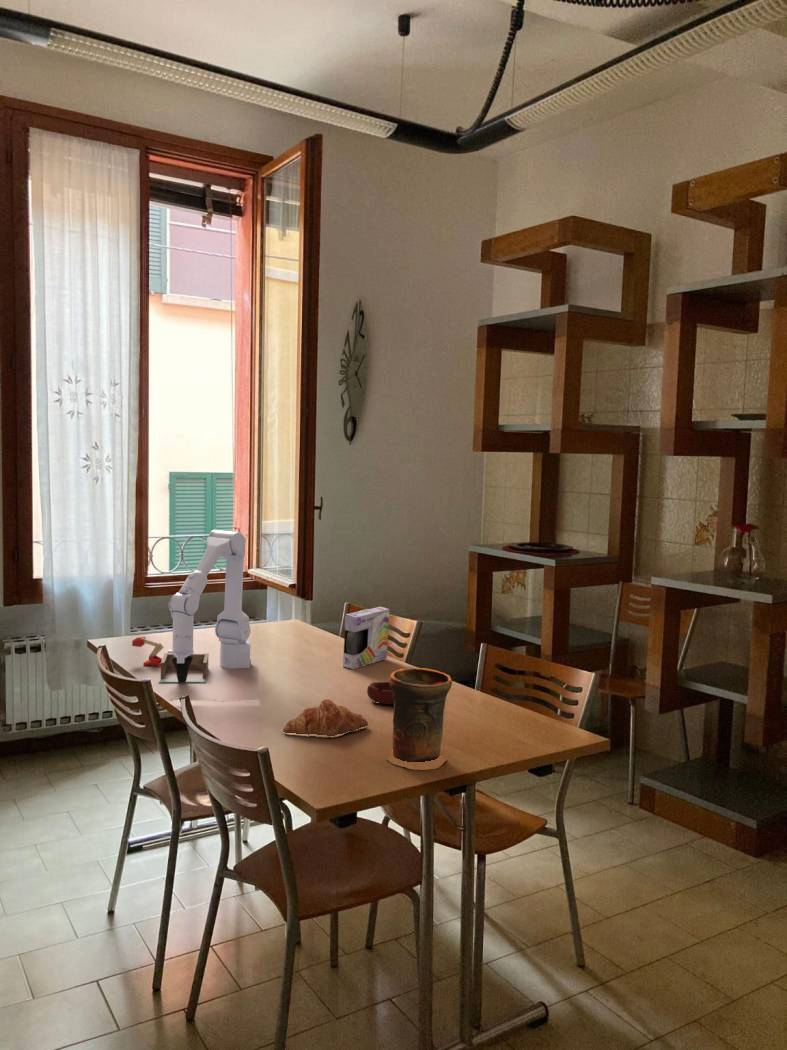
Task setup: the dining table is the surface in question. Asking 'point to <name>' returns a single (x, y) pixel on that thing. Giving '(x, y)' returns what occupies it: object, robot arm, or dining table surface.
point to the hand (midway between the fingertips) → (182, 681)
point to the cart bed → (197, 664)
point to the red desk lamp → (153, 658)
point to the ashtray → (380, 692)
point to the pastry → (325, 720)
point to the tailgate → (182, 682)
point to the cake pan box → (365, 637)
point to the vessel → (418, 713)
